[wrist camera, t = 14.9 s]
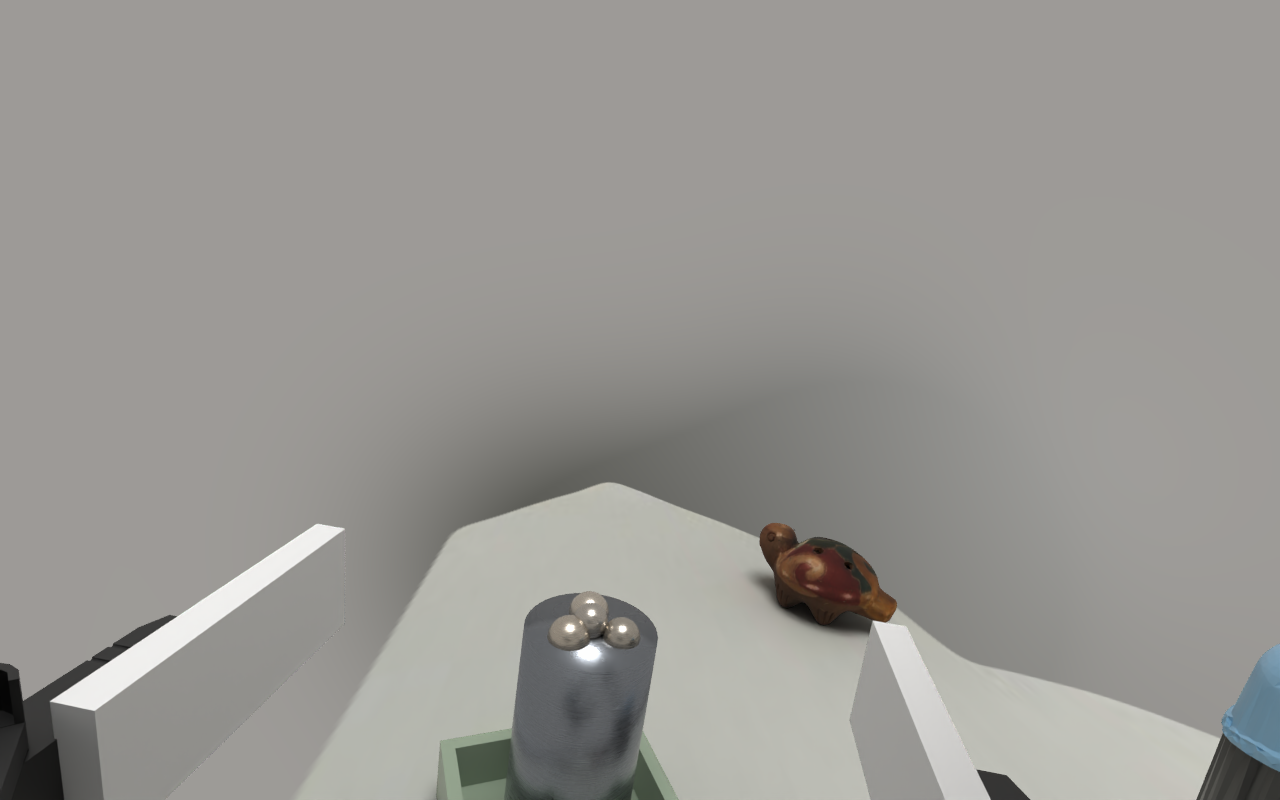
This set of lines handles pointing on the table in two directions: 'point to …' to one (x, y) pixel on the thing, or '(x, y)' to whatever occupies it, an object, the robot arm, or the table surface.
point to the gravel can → (580, 699)
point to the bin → (482, 762)
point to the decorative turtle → (823, 576)
